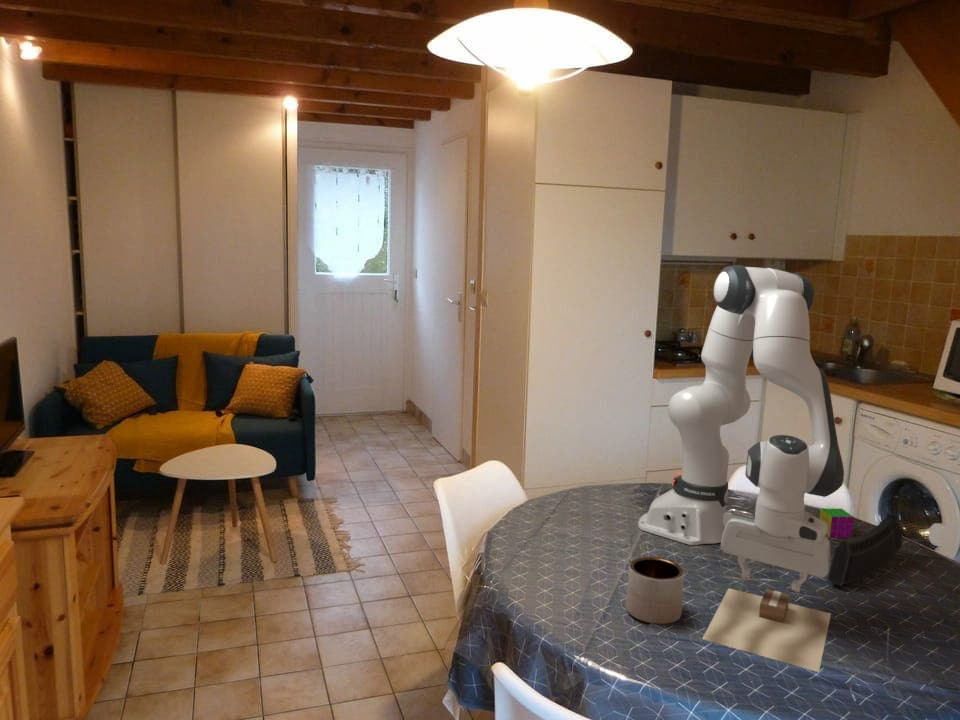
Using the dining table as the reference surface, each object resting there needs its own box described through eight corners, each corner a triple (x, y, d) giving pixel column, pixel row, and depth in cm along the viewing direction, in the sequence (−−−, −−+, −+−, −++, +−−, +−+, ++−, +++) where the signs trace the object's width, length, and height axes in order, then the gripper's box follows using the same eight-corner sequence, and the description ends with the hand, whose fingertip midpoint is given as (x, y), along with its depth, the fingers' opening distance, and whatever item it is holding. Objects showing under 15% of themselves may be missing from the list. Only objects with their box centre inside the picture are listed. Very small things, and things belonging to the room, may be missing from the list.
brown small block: (783, 623, 145) (784, 608, 144) (758, 616, 147) (760, 602, 146) (788, 608, 151) (789, 594, 150) (764, 602, 153) (766, 588, 152)
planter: (671, 632, 141) (675, 585, 140) (617, 615, 147) (620, 570, 145) (688, 609, 150) (691, 564, 149) (636, 594, 156) (639, 551, 155)
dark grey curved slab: (840, 555, 157) (902, 490, 174) (825, 549, 160) (887, 486, 176) (843, 619, 163) (902, 550, 180) (828, 613, 166) (888, 546, 182)
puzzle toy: (839, 529, 196) (841, 508, 195) (851, 537, 190) (853, 516, 189) (818, 529, 195) (820, 508, 194) (829, 537, 190) (831, 516, 189)
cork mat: (701, 641, 138) (702, 638, 138) (728, 590, 159) (728, 588, 159) (818, 675, 129) (818, 672, 128) (830, 616, 149) (831, 613, 149)
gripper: (720, 511, 148) (713, 575, 151) (832, 537, 138) (822, 605, 141) (728, 501, 154) (721, 563, 156) (836, 525, 143) (826, 592, 146)
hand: (770, 583), depth 148 cm, fingers open, 8 cm apart
